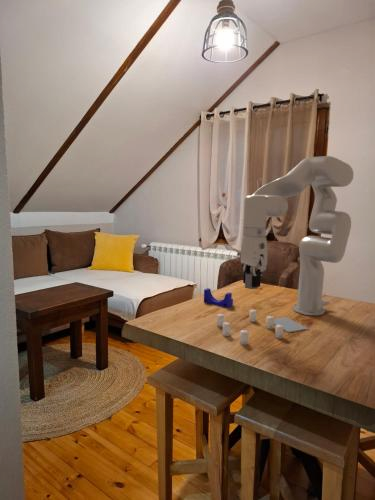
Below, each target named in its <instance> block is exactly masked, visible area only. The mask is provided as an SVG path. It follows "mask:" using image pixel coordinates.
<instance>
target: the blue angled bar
mask: <svg viewBox="0 0 375 500" xmlns="http://www.w3.org/2000/svg"><path fill="white" fill-rule="evenodd" d="M204 302H205V303H206V302H207V303H206V304H209V303H210V304H209V305H213V304H214V305H213V306H217V305H219V306H218V307H223V308H226V309H227V308H228V309H229V308H231V307H233V306H234V298H233V297H232V292H227V293H225V294H224V298H223V299H219V300H218V299H217V298H215V297H214V296H213V293H212V291H211V288H208V287H207V288H204V289H203V303H204Z"/></svg>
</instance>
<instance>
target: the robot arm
mask: <svg viewBox="0 0 375 500" xmlns="http://www.w3.org/2000/svg"><path fill="white" fill-rule="evenodd" d="M353 179H354V170H353V167H352V166H351V165H349V163H347V162H345V161H343V160H340V159H339V158H337V157H334V156H329V155H325V156H324V155H323V156H310V157H306V158H304V159H302V160H301V161H300V162H299V163H298V164H297V165H295V166H294V167H293V168H292V169H291V170H289V172H288V173H287V174H285V175H284V176H281V177H279V178H277V179H275V180H272V181H270V182H268V183H266V184H264V185H263V186H261V187H259V188H258V189H257V190H256V191H254V192H253V194H252V195H250V194H249V195H246V196H245V197H244V204H243V207H244V208H243V226H242V241H241V246H240V247H241V249H240V259H239V261H240V263H241V266H242V267H241V268H242V272H243V281H242V283H243V284H245V272H251V271H252V272H253V276H252V284H251V286H252V287H258V288H260V287H261V282H262V281H261V278H262V276H263V273H264V272H265V271H266V270H267V265H268V240H267V237H266V234H267V233H266V232H267V231H266V230H267V218H268V217H269V218H280V217H283V216H284V215H285V214H286V213H287V211H288V209H289V203H288V200H287V199H286V198H291V197H294V196H298V195H300V194H302V192H303V191H304V190H306V189H307V188H308V186H309V185H311V187H312V189H313V193H314V202H313V207H312V210H311V213H310V219H309V222H308V228H309V231H311V232H312V233H315V234H320V235H321V234H322V235H329V236H331V237H326V236H320V235H306V236H304V237H303V238H302V239H300V242H299V244H298V251H299V260H300V261H299V264H300V265H299V276H298V277H299V278H298V287H297V289H298V290H297V301H296V304H294V305H293V306H292V310H293V311H294V312H296V313H298V314H301V315H304V316H305V315H306V316H316V317H317V316H322V315H324V314H325V311H326V310H325V309H324V307H325V306H330V304H331V303H330V300H323V299H322V298H323V289H324V277H325V268H324V264H323V263H322V262H325V263H329V264H331V263H333V264H338V263H339V262H341V261H342V259H343V258H344V256H345V253H346V248H347V246H348V241H349V237H350V233H351V228H352V219H351V216H350V214H349V213H348V212H346V211H340V210H338V211H337V210H336V209H337V207H336V206H337V203H338V199H337V195H336V193H335V191H334V190H333V188H337V187H338V188H342V187H347V186H349V185H350V184H351V183H352V181H353Z"/></svg>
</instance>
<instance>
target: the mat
mask: <svg viewBox="0 0 375 500" xmlns="http://www.w3.org/2000/svg"><path fill="white" fill-rule="evenodd" d="M276 325H283V326H284V330H283V332H284V331H285V332H286V333H288V334H289V333H294V332H300V331H308V330H309V327H306V326H305V325H303V324H300V323H299V322H297V321H295V320H293V319H292V318H289V317H279V318H274V326H276Z"/></svg>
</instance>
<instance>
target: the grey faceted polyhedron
mask: <svg viewBox="0 0 375 500" xmlns="http://www.w3.org/2000/svg"><path fill="white" fill-rule="evenodd" d="M252 276H253V270H251V271H250V272H245V283H244V288H245V289H247V290H248V289H250V290H256V289H257V290H258V289H259V287H252V286H251V284H252Z"/></svg>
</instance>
